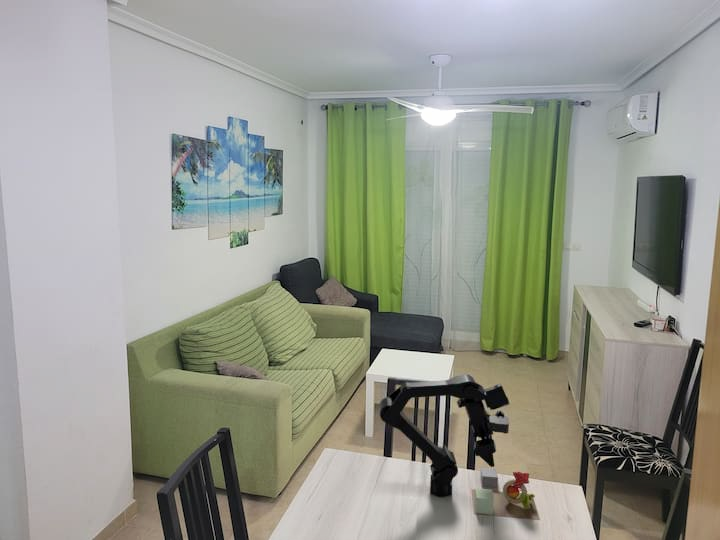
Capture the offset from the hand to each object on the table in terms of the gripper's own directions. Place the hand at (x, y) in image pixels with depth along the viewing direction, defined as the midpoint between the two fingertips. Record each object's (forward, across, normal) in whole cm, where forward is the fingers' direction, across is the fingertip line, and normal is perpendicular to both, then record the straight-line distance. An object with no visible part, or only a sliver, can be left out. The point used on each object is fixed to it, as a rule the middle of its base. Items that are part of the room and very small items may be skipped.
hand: (492, 457), depth 172 cm
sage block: (+10, -10, +6) cm, 15 cm away
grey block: (+13, +5, +5) cm, 15 cm away
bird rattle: (+14, -6, -4) cm, 15 cm away
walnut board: (+14, -6, +1) cm, 15 cm away
